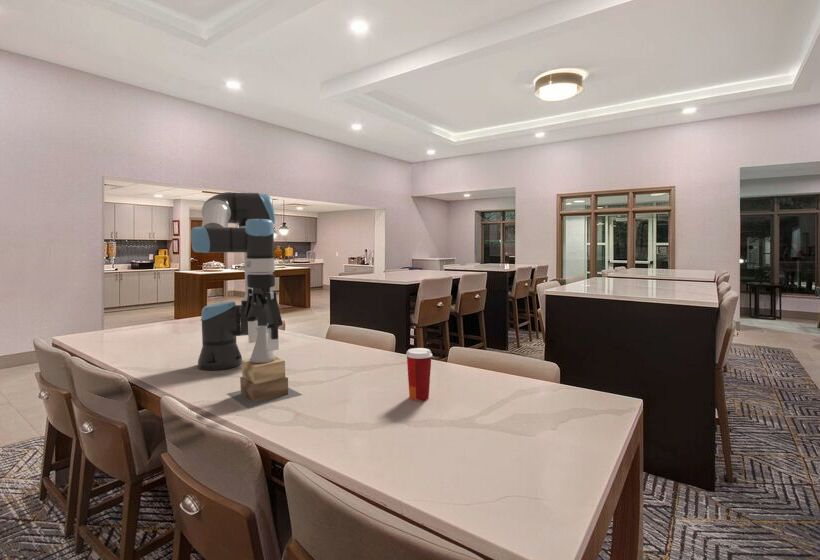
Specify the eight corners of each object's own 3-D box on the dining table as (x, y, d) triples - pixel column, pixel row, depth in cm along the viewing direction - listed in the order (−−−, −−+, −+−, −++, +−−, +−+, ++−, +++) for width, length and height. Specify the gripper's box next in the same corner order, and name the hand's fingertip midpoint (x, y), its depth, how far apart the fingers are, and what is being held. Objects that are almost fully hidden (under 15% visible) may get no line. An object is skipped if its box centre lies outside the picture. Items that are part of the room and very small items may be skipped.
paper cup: (435, 394, 129) (435, 348, 128) (427, 403, 122) (427, 354, 121) (410, 392, 131) (410, 346, 130) (401, 400, 124) (401, 352, 123)
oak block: (242, 377, 127) (241, 360, 126) (271, 371, 133) (271, 355, 132) (255, 384, 120) (254, 366, 120) (285, 377, 126) (284, 360, 126)
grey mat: (226, 397, 127) (226, 393, 127) (277, 385, 138) (277, 382, 138) (248, 412, 116) (248, 408, 116) (302, 397, 126) (302, 394, 126)
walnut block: (240, 393, 127) (240, 377, 127) (273, 386, 134) (272, 370, 134) (254, 402, 120) (254, 385, 119) (288, 394, 127) (287, 377, 126)
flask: (268, 364, 122) (267, 329, 121) (244, 363, 123) (243, 328, 123) (280, 358, 129) (279, 324, 128) (258, 356, 130) (257, 324, 130)
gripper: (231, 272, 131) (233, 341, 132) (267, 276, 112) (269, 356, 114) (255, 271, 136) (257, 337, 137) (293, 274, 118) (295, 351, 119)
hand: (263, 346), depth 126 cm, fingers open, 13 cm apart
